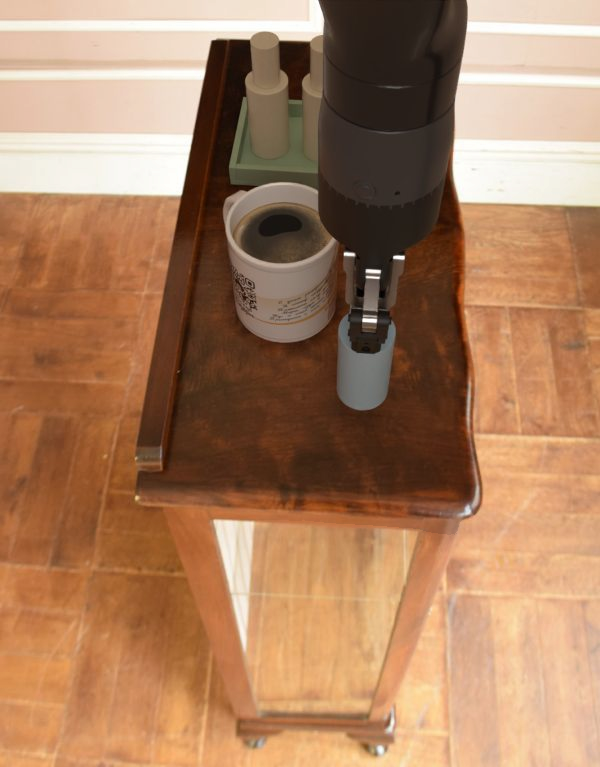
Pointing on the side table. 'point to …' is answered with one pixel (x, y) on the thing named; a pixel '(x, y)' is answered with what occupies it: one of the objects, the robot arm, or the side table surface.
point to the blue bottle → (363, 370)
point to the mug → (281, 261)
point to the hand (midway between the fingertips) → (367, 329)
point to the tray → (265, 171)
